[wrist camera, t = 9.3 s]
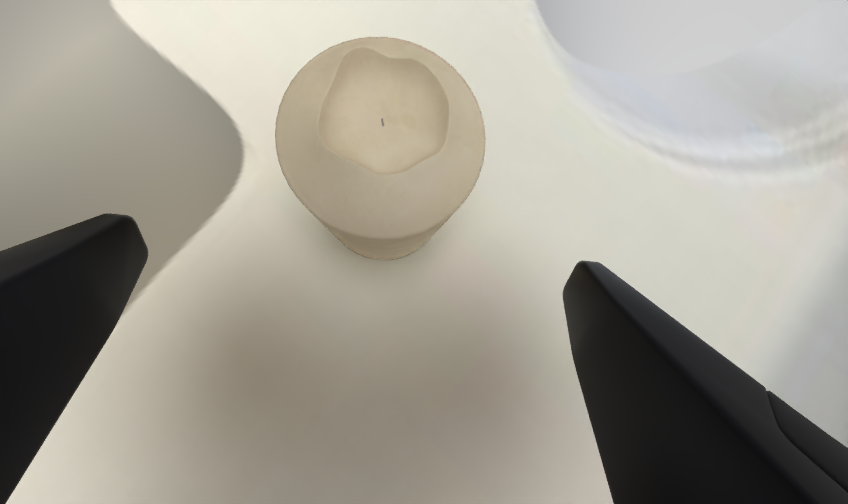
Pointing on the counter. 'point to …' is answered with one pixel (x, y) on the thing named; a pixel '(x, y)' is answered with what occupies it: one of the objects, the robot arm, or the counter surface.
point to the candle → (380, 143)
